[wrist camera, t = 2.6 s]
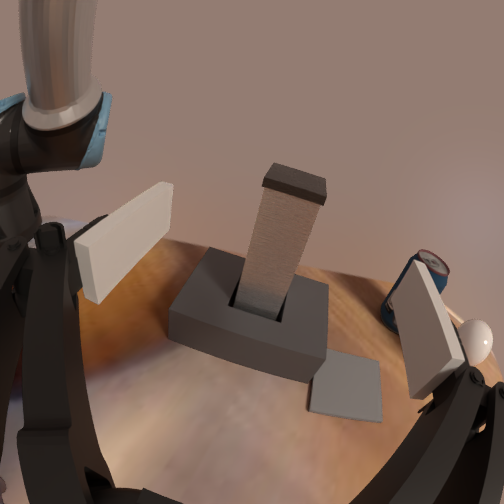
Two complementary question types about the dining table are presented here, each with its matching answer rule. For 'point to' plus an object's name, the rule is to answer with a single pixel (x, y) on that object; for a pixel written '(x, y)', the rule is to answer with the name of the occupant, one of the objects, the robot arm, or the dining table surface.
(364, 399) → the mat
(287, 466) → the dining table surface
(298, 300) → the dark gray block
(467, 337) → the lightbulb
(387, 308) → the soda can
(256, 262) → the plug
